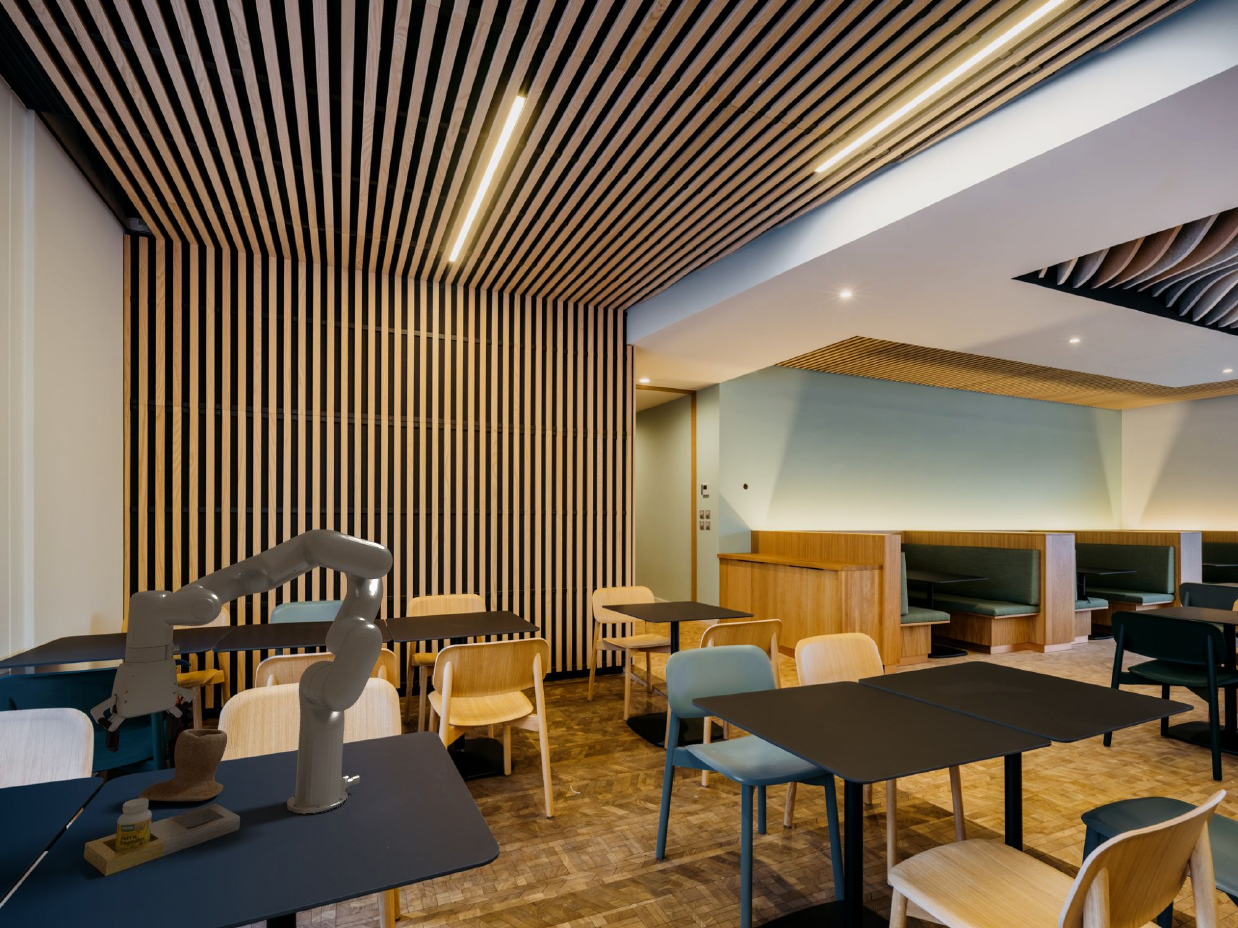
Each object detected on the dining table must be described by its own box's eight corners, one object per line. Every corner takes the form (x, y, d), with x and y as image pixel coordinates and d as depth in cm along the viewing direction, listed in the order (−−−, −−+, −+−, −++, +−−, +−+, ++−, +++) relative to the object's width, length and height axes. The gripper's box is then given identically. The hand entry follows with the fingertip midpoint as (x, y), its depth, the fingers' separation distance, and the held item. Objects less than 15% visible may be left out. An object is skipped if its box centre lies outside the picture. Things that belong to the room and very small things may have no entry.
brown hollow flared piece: (235, 787, 159) (239, 723, 160) (204, 808, 147) (209, 738, 148) (172, 786, 159) (177, 722, 160) (136, 807, 147) (142, 737, 148)
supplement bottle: (149, 844, 130) (153, 794, 131) (148, 856, 125) (153, 803, 126) (115, 851, 127) (120, 799, 128) (113, 863, 122) (117, 809, 123)
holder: (214, 815, 143) (215, 803, 143) (239, 829, 137) (240, 816, 137) (84, 857, 124) (85, 842, 125) (105, 875, 118) (107, 860, 118)
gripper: (188, 645, 139) (182, 729, 138) (88, 659, 125) (80, 752, 123) (205, 649, 135) (199, 736, 133) (103, 664, 121) (95, 760, 119)
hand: (142, 743), depth 128 cm, fingers open, 9 cm apart
